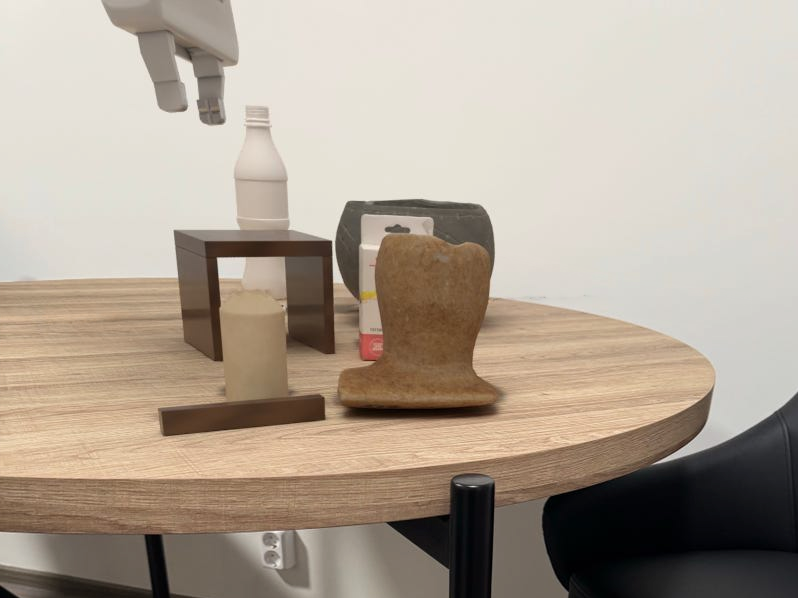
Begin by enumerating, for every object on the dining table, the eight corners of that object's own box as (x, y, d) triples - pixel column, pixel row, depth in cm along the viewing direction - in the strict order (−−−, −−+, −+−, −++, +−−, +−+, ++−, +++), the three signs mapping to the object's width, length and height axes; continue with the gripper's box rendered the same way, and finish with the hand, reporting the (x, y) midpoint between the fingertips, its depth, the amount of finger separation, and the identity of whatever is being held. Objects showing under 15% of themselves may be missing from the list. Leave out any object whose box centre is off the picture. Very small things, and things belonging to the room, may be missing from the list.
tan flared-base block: (481, 389, 96) (488, 229, 89) (507, 420, 85) (517, 241, 78) (330, 389, 93) (326, 223, 86) (339, 421, 82) (334, 236, 75)
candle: (285, 415, 83) (279, 296, 79) (222, 413, 83) (212, 294, 78) (291, 400, 88) (286, 287, 84) (231, 398, 88) (223, 285, 83)
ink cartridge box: (361, 361, 105) (359, 217, 98) (358, 352, 109) (357, 213, 102) (437, 362, 106) (441, 220, 100) (432, 353, 111) (435, 216, 104)
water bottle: (242, 309, 132) (228, 104, 120) (242, 301, 138) (229, 105, 126) (294, 310, 133) (285, 107, 121) (292, 302, 139) (284, 108, 127)
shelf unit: (214, 361, 101) (204, 241, 96) (184, 340, 110) (173, 229, 105) (335, 353, 108) (332, 240, 102) (297, 334, 117) (292, 229, 111)
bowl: (435, 345, 115) (438, 211, 108) (304, 323, 124) (299, 198, 117) (520, 324, 131) (528, 206, 124) (398, 306, 140) (399, 195, 133)
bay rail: (164, 435, 76) (161, 411, 75) (160, 432, 77) (157, 407, 76) (325, 419, 83) (324, 396, 82) (320, 416, 84) (319, 393, 83)
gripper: (165, -57, 77) (198, 134, 82) (48, -149, 58) (102, 106, 64) (240, -65, 76) (269, 127, 82) (147, -160, 58) (192, 98, 63)
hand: (195, 118), depth 73 cm, fingers open, 8 cm apart
